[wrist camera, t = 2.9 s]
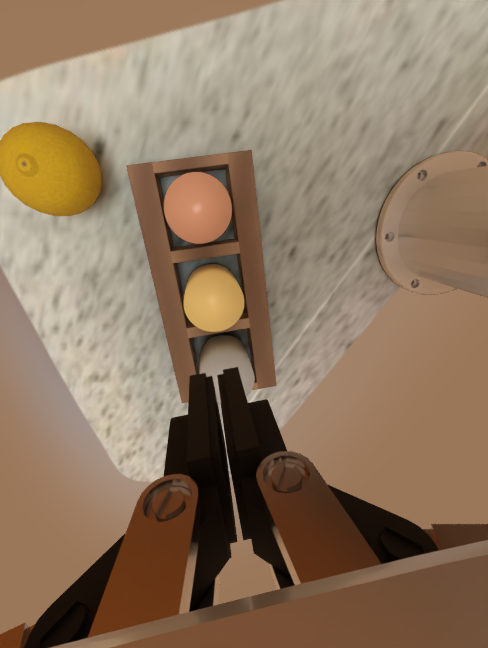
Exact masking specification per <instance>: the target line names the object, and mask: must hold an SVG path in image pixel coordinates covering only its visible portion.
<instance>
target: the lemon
mask: <svg viewBox="0 0 488 648" xmlns="http://www.w3.org/2000/svg"><path fill="white" fill-rule="evenodd" d="M0 176H1V178H2V180H3V182H4V184H5V185H6V187H7V188H8V189H9V190H10V191H11V193H12V194H13V195H14V196H15V197H16V198H18V199H19V200H20V201H21V202H23V203H24V204H25V205H27V206H29V207H31V208H33V209H35V210H37V211H39V212H42V213H46V214H49V215H53V216H70V215H75V214H79V213H81V212H83V211H85V210H86V209H88V208H89V207H90V206H91V205H92V204H93V203H94V202H95V201H96V199H97V197H98V195H99V193H100V189H101V184H102V180H101V171H100V168H99V164H98V162H97V160H96V158H95V156H94V154H93V153H92V151H91V150H90V149H89V148H88V147H87V145H86V144H85V143H84V142H83V141H82V140H81V139H79V138H78V137H77V136H75V135H74V134H73V133H71V132H70V131H68V130H65V129H63V128H61V127H59V126H57V125H53V124H48V123H42V122H32V123H23V124H21V125H18V126H16V127H13V128H12V129H10V130H9V131H8V132H7V133H6V134H5V135H4V136H3V137H2V139H1V141H0Z"/></svg>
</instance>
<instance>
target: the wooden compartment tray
mask: <svg viewBox="0 0 488 648" xmlns="http://www.w3.org/2000/svg"><path fill="white" fill-rule="evenodd" d="M219 169H225V170H226V177H227V185H228V192H229V196H230V199H231V204H232V222H233V229H234V237H235V239H228V240H221V241H214V242H208V243H203V244H194V245H187V246H180V247H173V242H172V238H171V233H170V228H169V224H168V223H167V220H166V217H165V213H164V198H163V193H162V188H161V183H160V179H159V177H165V176H172V175H180V174H186V173H190V172H204V171H211V170H219ZM127 171H128V175H129V179H130V183H131V188H132V192H133V196H134V200H135V205H136V209H137V213H138V218H139V222H140V226H141V230H142V235H143V239H144V243H145V247H146V252H147V256H148V260H149V264H150V269H151V273H152V277H153V281H154V286H155V290H156V294H157V299H158V303H159V307H160V311H161V316H162V320H163V324H164V328H165V333H166V337H167V341H168V345H169V350H170V354H171V358H172V362H173V367H174V371H175V375H176V379H177V384H178V388H179V392H180V397H181V401H182V403H185V402H189V378H190V376H191V375H196V374H199V370H198V365H197V360H196V355H195V350H194V346H193V341H192V337H198V336H204V335H210V334H216V333H222V332H228V331H234V330H239V329H245V328H247V333H248V341H249V348H250V356H251V363H252V369H253V372H254V377H255V381H254V386H253V388H252V390H256V389H261V388H266V387H272V386H276V377H275V367H274V358H273V348H272V339H271V330H270V320H269V311H268V301H267V292H266V282H265V273H264V264H263V254H262V245H261V235H260V226H259V216H258V207H257V198H256V188H255V179H254V169H253V160H252V151H251V150H248V151H240V152H232V153H224V154H215V155H207V156H199V157H191V158H183V159H175V160H167V161H159V162H151V163H143V164H135V165H127ZM231 254H237V259H238V266H239V274H240V281H241V289H242V293H243V296H244V309H243V313H242V315H241V317H240V318H239V320H238V321H237V322H236V323H235V324H234V325H233V326H231V327H230V328H228V329H226V330H223V331H219V332H209V331H204V330H202V329H200V328H198V327H196V326H195V325H194V324H193V323H191V321H190V320H189V319H188V317H187V315H186V313H185V310H184V296H183V292H182V287H181V282H180V277H179V272H178V267H177V263H178V262H184V261H191V260H198V259H204V258H211V257H218V256H225V255H231Z"/></svg>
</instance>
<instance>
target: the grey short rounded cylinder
mask: <svg viewBox="0 0 488 648" xmlns="http://www.w3.org/2000/svg"><path fill="white" fill-rule="evenodd" d="M235 367H238V369H239V373H240V377H241V380H242V384H243V388H244V391H245V395H246V396H247V395H248V394H249V393H250V392H251V390H252V388H253V386H254V381H255V377H254V372H253V369H252V366H251V363H250V360H249V357H248V354H247V351H246V348H245V346H244V345H243V343H242V342H241V341H240V340H239V339H237V338H235V337H233V336H229V335H219V336H216V337H213V338H211V339H210V340H208V341H207V342H206V343H205V344H204V345H203V347H202V349H201V352H200V374H202V373H206V377H208V376H212V377H213V382H214V387H215V393H216V398H217V403H218V404H221V401H220V393H219V385H218V378H217V375H219V374H223V370H224V369H229V368H235Z"/></svg>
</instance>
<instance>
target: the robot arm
mask: <svg viewBox="0 0 488 648" xmlns="http://www.w3.org/2000/svg"><path fill="white" fill-rule="evenodd" d="M417 175H418V177H417ZM385 236H386V238H385ZM376 244H377V253H378V256H379V259H380V262H381V265H382V267H383V269H384V270H385V272H386V274H387V275H388V276H389V277H390V278H391V279H392V280H393V282H395V283H396V284H398V285H399V286H401V287H402V288H404V289H407V290H409V291H411V292H415V293H419V294H423V295H436V294H442V293H447V292H450V291H452V290H455V289H457V288H458V289H461V290H464V291H468V292H471V293H474V294H478V295H481V296H484V297H487V298H488V159H487V158H485V157H483V156H481V155H479V154H476V153H472V152H468V151H452V152H448V153H443V154H439V155H436V156H433V157H430V158H428V159H426V160H424V161H422V162H421V163H419V164H417V165H415V166H414V167H413V168H412V169H411V170H409V171H408V172H407V173H406V174H405V175H403V177H402V178H401V179H400V180H399V181H398V183H397V184H396V185H395V186H394V187H393V189H392V191H391V192H390V194H389V196H388V197H387V199H386V201H385V203H384V206H383V208H382V210H381V213H380V217H379V221H378V225H377V235H376ZM217 378H218V385H219V393H220V401H221V408H222V416H223V423H224V431H225V439H226V446H227V453H228V459H229V465H230V470H231V475H232V481H233V486H234V492H235V497H236V502H237V508H238V513H239V519H240V524H241V529H242V535H243V540H247V539H252V545H253V551H254V553H255V554H256V555H257V556H259V557H260V558H262V559H263V560H265V561H266V562H268V563H269V565H270V570H271V574H272V577H273V579H274V582H275V585H276V588H277V590H275V591H271V592H267V593H263V594H259V595H255V596H251V597H247V598H243V599H239V600H235V601H231V602H227V603H223V604H219V605H218V601H219V585H220V584H219V575H218V574H219V573H220V571H221V570H222V568H223V567H224V566H225V564H226V563H227V561H228V560H229V558H231V549H230V543H234V542H237V535H236V527H235V519H234V511H233V503H232V496H231V488H230V479H229V471H228V463H227V455H226V448H225V441H224V436H223V430H222V425H221V420H220V414H219V409H218V403H217V398H216V393H215V387H214V382H213V377H212V376H208V377H206V373H202V374H196V375H191V376H190V378H189V406H188V415H184V416H179V417H174V418H171V421H170V428H169V436H168V445H167V453H166V461H165V470H164V477H162V478H160V479H157V480H156V481H154V482H153V483H152V484H150V485H149V486H148V487H147V488H146V489H145V490H144V491H143V492H142V494H141V496H140V497H139V499H138V501H137V504H136V506H135V509H134V512H133V515H132V517H131V520H130V523H129V525H128V528H127V531H126V534H124V535H123V536H122V537H121V538H120V539H119V540H118V541H117V542H116V543H115V544H114V545H113V546H112V547H111V548H110V549H109V550H108V551H107V552H106V553H104V554H103V555H102V556H101V557H100V558H99V559H98V560H97V561H96V562H95V563H94V564H93V565H92V566H91V567H90V568H89V569H88V570H87V571H86V572H85V573H84V574H83V575H82V576H81V577H80V578H79V579H78V580H77V581H76V582H74V583H73V584H72V585H71V586H70V588H68V589H67V590H66V591H65V592H64V593H63V594H62V595H61V596H60V597H59V598H58V599H57V600H56V601H55V602H54V603H53V604H52V605H51V606H50V607H49V608H48V609H47V610H46V611H45V612H44V614H43V615H42V616H41V617H40V618H39V619H38V621H37V622H36V624H35V625H32V626H31V627H28V626H27V624H26V623H23V624H21V625H19V626H17V627H14V628H13V629H10V630H8V631H6V632H4V633H2V634H0V648H488V524H431V528H430V529H421V528H420V527H419V526H417V525H416V524H414V523H412V522H410V521H409V520H406V519H404V518H402V517H400V516H398V515H395V514H393V513H391V512H388V511H386V510H384V509H382V508H379V507H377V506H375V505H373V504H370V503H368V502H366V501H364V500H361V499H359V498H357V497H354V496H352V495H350V494H348V493H345V492H343V491H341V490H339V489H336V488H334V487H332V486H330V485H327V483H326V482H325V480H324V479H323V478H322V476H321V475H320V473H319V472H318V470H317V469H316V467H315V466H314V464H313V463H312V462H311V461H310V460H309V459H308V458H307V457H305V456H303V455H301V454H299V453H296V452H291V451H287V449H286V447H285V444H284V442H283V439H282V436H281V434H280V431H279V428H278V426H277V423H276V420H275V418H274V415H273V413H272V410H271V407H270V405H269V402H268V400H267V399H266V400H261V401H256V402H251V403H248V402H247V399H246V395H245V391H244V388H243V384H242V380H241V377H240V373H239V369H238V367H235V368H229V369H224V370H223V374H219V375H217Z"/></svg>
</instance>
